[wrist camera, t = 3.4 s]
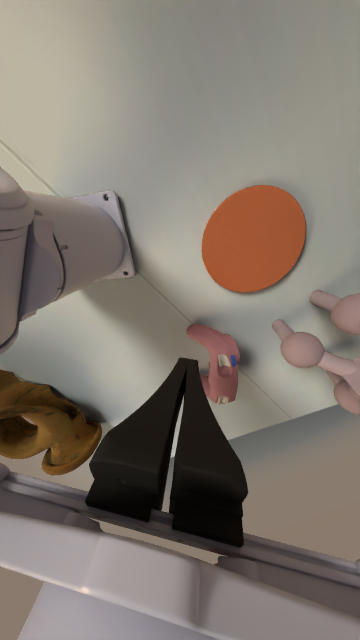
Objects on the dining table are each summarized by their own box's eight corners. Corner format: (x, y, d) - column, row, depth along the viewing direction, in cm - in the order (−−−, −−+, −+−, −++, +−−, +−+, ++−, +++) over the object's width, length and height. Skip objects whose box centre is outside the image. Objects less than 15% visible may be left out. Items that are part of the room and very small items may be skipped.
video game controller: (216, 371, 27) (244, 411, 21) (188, 380, 26) (209, 424, 20) (216, 314, 22) (252, 344, 16) (183, 322, 21) (208, 357, 15)
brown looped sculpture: (4, 368, 20) (84, 491, 26) (65, 332, 32) (110, 421, 38) (-153, 415, 20) (-35, 529, 26) (-30, 360, 32) (30, 446, 38)
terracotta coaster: (204, 292, 19) (204, 294, 19) (198, 196, 15) (198, 195, 15) (292, 287, 18) (295, 289, 17) (314, 176, 13) (318, 174, 13)
